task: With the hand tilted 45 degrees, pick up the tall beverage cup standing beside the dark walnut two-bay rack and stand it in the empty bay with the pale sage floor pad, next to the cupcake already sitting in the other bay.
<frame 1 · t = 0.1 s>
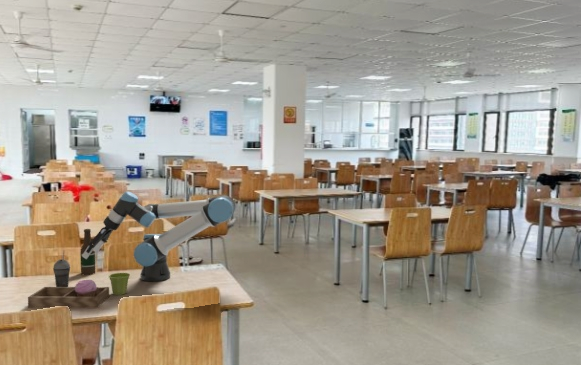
hand: (89, 254, 241), 15 cm above the table, tool tilted 35°, fingers open, 13 cm apart
beverage cup: (62, 292, 230), on the table
rack: (70, 302, 216), on the table
plant pot: (119, 293, 229), on the table
beer bottle: (88, 273, 263), on the table
cupcake: (86, 302, 216), resting in rack
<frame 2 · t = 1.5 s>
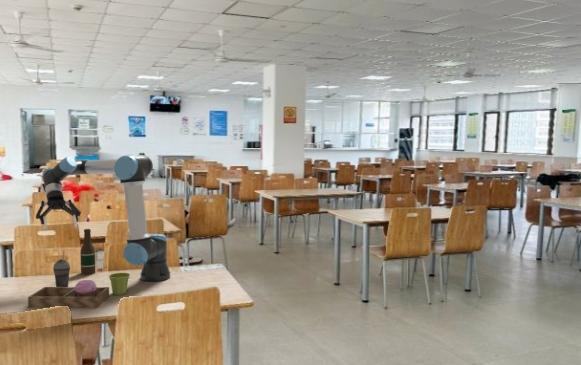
hand: (61, 228, 237), 29 cm above the table, tool tilted 45°, fingers open, 13 cm apart
nothing on the table moved.
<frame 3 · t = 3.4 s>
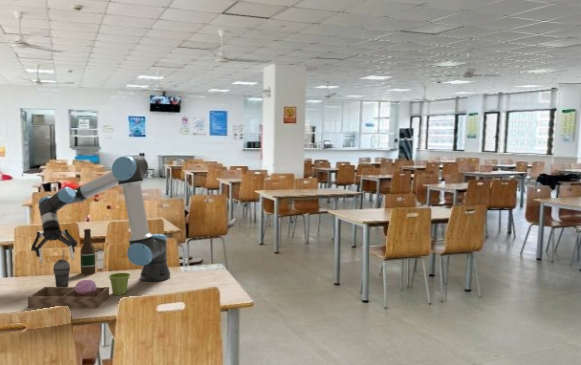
hand: (57, 260, 232), 15 cm above the table, tool tilted 45°, fingers open, 13 cm apart
nothing on the table moved.
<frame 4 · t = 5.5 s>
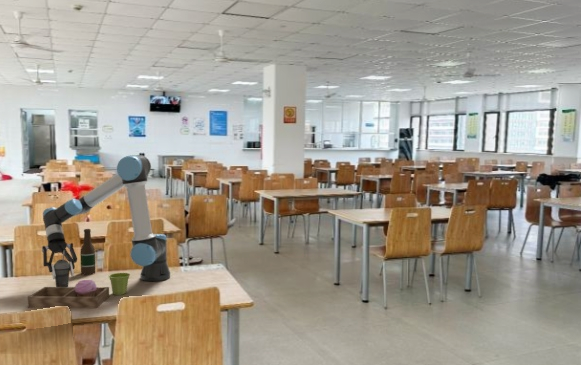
hand: (63, 276, 226), 9 cm above the table, tool tilted 45°, fingers closed on beverage cup, 7 cm apart
beverage cup: (62, 292, 230), on the table, touching gripper
everything else where it was.
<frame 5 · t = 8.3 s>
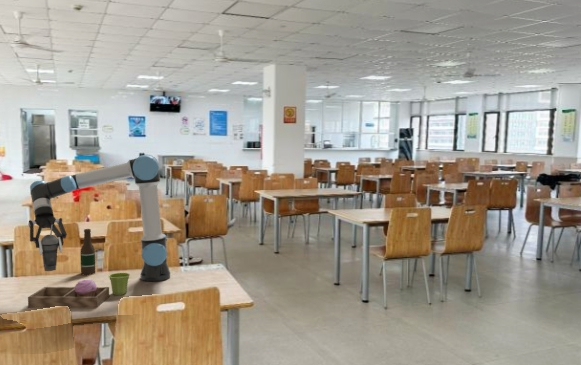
hand: (51, 252, 211), 23 cm above the table, tool tilted 45°, fingers closed on beverage cup, 7 cm apart
beverage cup: (50, 270, 214), point 14 cm above the table, touching gripper
everything else where it was.
when the fingers open (10 cm above the table, at t = 11.0 s): beverage cup drops 1 cm, resting on rack.
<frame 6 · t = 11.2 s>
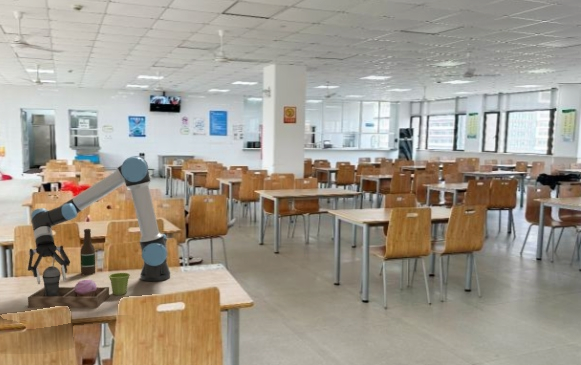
hand: (52, 280, 212), 10 cm above the table, tool tilted 45°, fingers open, 9 cm apart
beverage cup: (51, 301, 215), resting on rack
everything else where it was.
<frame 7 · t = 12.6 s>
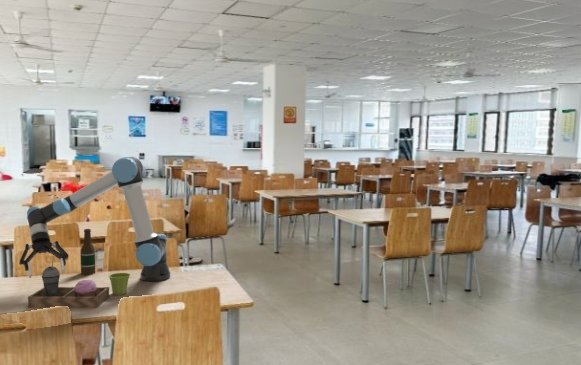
hand: (47, 273, 220), 11 cm above the table, tool tilted 45°, fingers open, 13 cm apart
nothing on the table moved.
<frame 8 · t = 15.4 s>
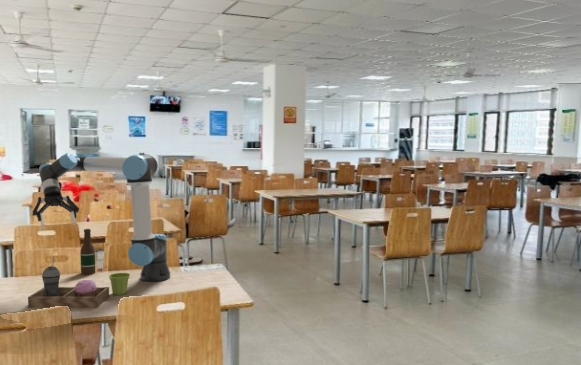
hand: (59, 224, 229), 32 cm above the table, tool tilted 45°, fingers open, 13 cm apart
nothing on the table moved.
at the end: beverage cup inside the target area on the rack (1.0 cm from its centre), point 0.1 cm above the rack's base; beverage cup tilted 0°; the gripper is holding nothing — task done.
